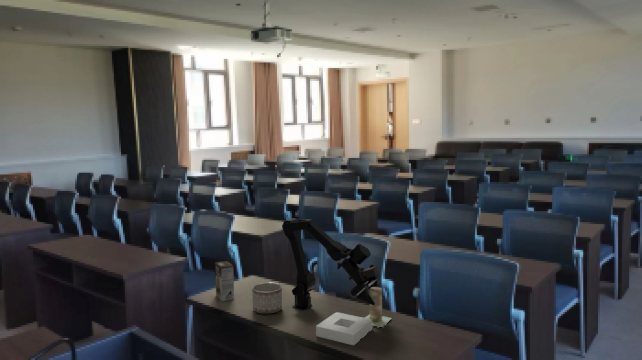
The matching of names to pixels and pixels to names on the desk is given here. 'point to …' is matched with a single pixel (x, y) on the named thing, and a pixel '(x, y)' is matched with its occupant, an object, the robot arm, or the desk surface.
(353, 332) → the pocket block
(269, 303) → the planter
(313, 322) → the desk surface
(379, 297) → the wooden peg
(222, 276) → the coffee box
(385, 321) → the green pad
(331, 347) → the desk surface
